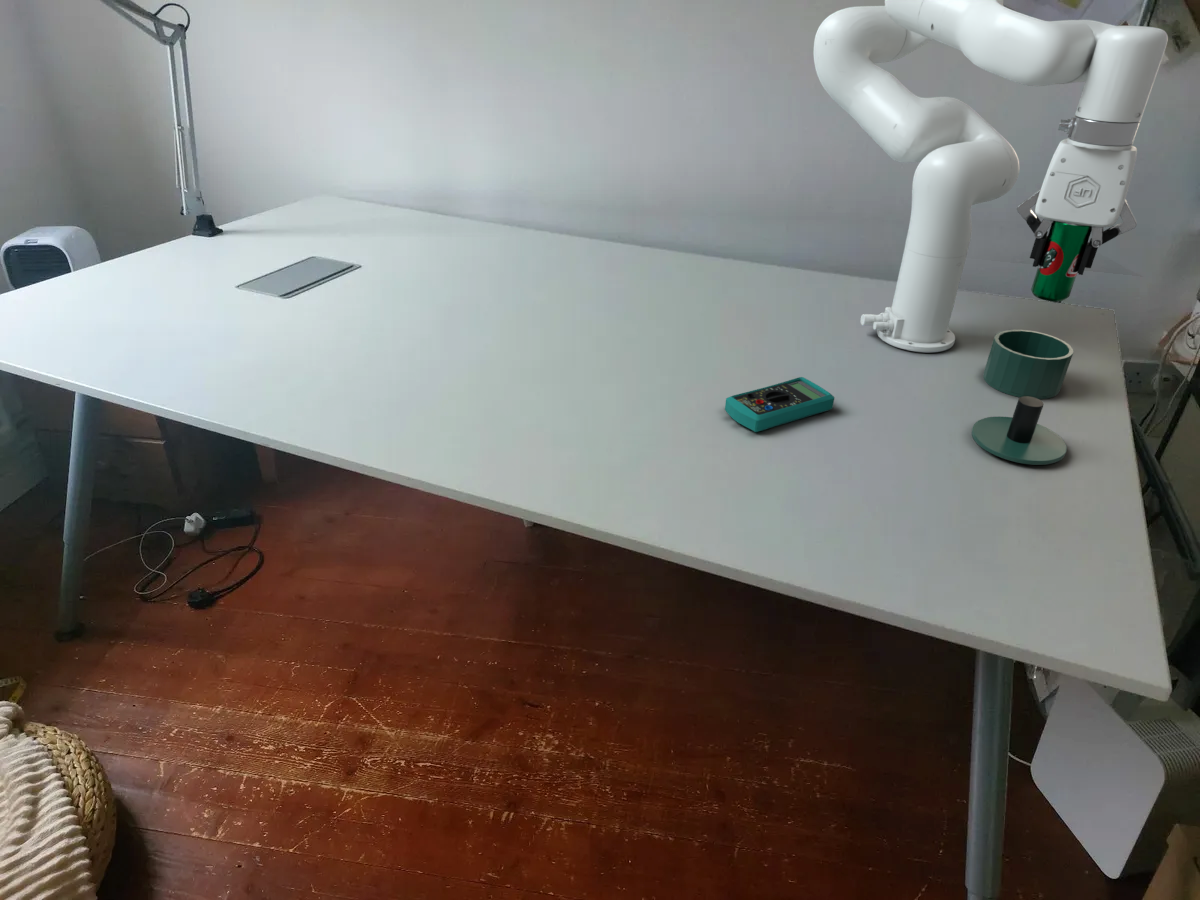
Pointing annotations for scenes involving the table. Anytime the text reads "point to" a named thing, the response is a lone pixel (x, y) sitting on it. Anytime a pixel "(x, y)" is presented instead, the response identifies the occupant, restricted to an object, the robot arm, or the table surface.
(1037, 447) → the lid
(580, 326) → the table surface
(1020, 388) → the green round container
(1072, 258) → the soda can
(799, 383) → the digital multimeter
